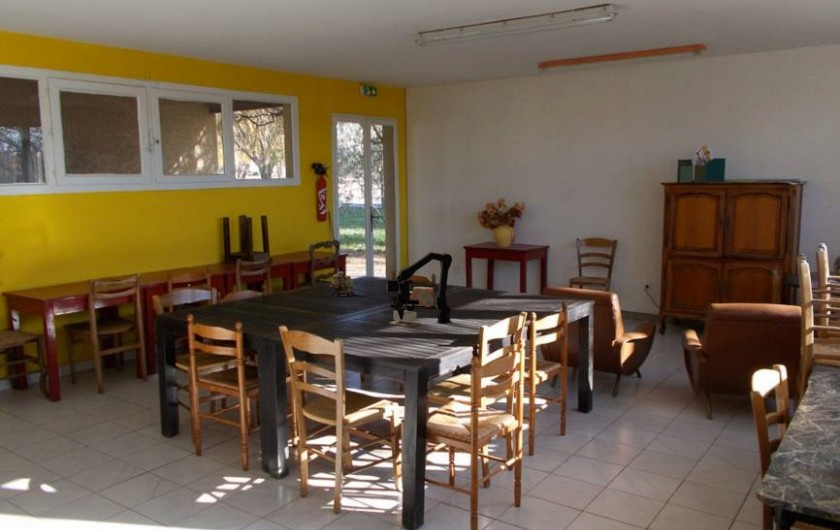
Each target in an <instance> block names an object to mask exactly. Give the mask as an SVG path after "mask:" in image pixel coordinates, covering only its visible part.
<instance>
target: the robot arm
mask: <svg viewBox="0 0 840 530" xmlns="http://www.w3.org/2000/svg"><path fill="white" fill-rule="evenodd" d="M433 260H434V261H439V265H440V273H439V282H438V283H439V284H438V292H437V295H434V296H433V304H434V307H435V308H437V321H436V323H438V322H439V324H444V323H446V324H449V322H450V323H452V320H451V311H452V310H451V308H450V306H448V301H447V295H446V294H447V288H448V287H447V286H448V278H449V277H448V275H449V270H450V267H451V266H452V261H453V257H452V255H451V254H449V253H447V252H443V253H438V252H432V251H430V252H428V253H427V254H425V255H423V257H421V258H419V259H418V260H417V261H416V262H414V263H413V264H411V265H409V266H406V267H404V268H401V269H400V270H399V271H398V275H397V277H396V278H395V279H387V280H386V285H385V289H386V292H387V293H397V292H398V291H399V292H400V293H399V292H398V293H397V296H396V295H390V298H389V301H390V302H391V303H390V309H394V310H395V311H397V312H398V314H399V317H400V319H401V320H402V319H403V314H404V310H406V311H412V312H414V310H415V309H416V308H417V307H416V305H418V304H419V300H418V299H410V295H411V293H410V291H411V285H412V284H414V281H412V279H411V278H412V277H413V275H414V274H415V273H416V272H417V271H418V270H420V269H421V268H423V267H425V266H426V265H427V264H428V263H430V262H432V261H433ZM399 302H400V303H399ZM414 304H415V305H414ZM404 305H405V306H404ZM405 307H406V308H405Z"/></svg>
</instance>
